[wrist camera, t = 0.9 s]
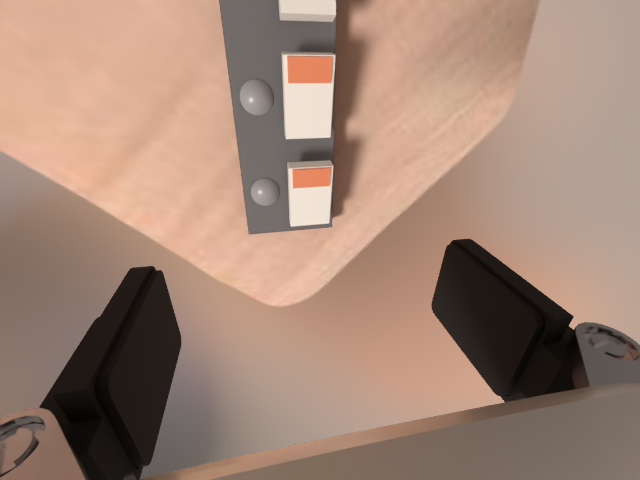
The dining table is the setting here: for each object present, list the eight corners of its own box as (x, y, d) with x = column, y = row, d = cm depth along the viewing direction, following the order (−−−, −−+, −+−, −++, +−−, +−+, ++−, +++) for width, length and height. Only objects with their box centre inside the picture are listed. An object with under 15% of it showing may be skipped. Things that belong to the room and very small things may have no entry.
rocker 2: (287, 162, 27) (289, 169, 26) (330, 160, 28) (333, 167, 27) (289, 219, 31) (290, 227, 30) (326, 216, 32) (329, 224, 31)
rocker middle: (281, 51, 23) (283, 54, 22) (332, 52, 24) (336, 55, 23) (284, 134, 27) (286, 140, 26) (327, 132, 28) (330, 138, 27)
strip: (207, -108, 21) (201, -131, 19) (331, -95, 23) (340, -116, 20) (249, 226, 33) (248, 237, 31) (328, 219, 35) (333, 229, 33)
